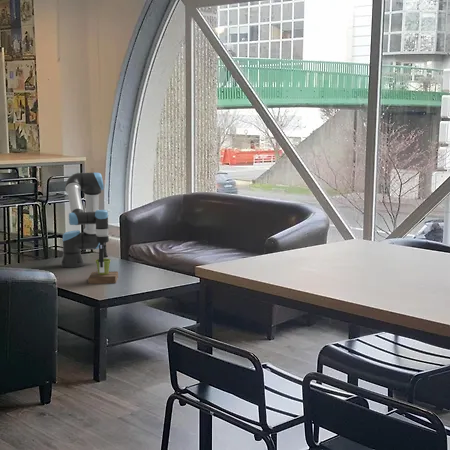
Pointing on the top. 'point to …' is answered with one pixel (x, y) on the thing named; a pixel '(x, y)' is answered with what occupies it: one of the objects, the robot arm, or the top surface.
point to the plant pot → (106, 266)
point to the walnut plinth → (103, 278)
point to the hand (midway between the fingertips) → (103, 270)
